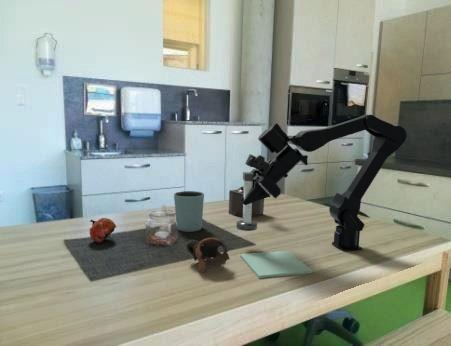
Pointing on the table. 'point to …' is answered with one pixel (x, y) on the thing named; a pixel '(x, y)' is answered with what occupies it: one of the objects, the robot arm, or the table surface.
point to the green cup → (189, 210)
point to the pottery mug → (208, 253)
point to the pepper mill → (237, 204)
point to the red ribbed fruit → (101, 229)
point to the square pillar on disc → (247, 209)
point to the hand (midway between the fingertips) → (242, 202)
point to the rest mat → (274, 264)
